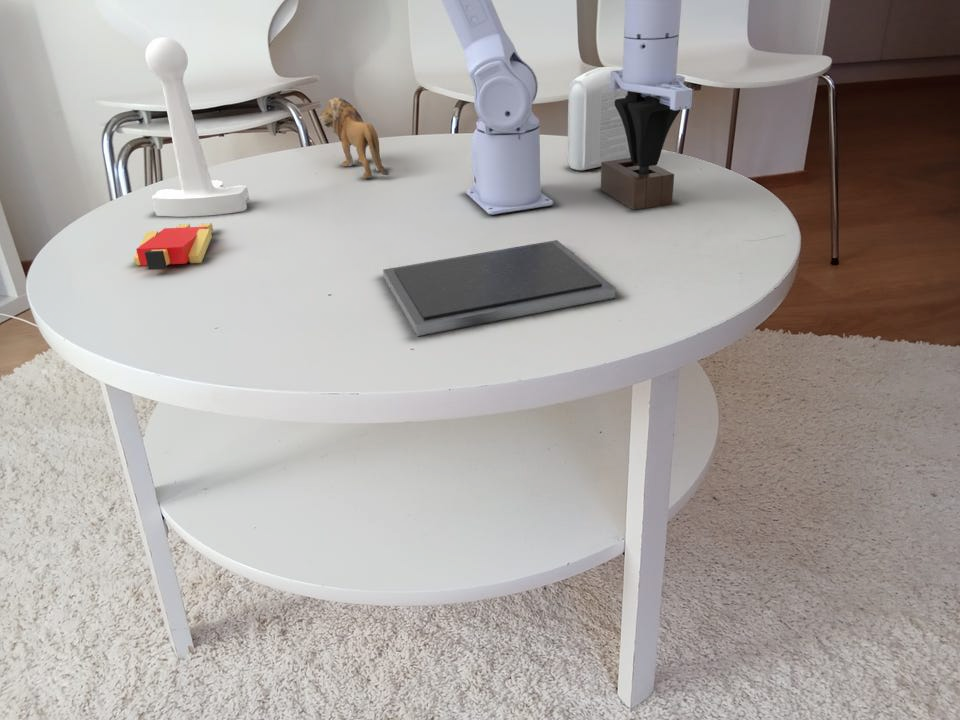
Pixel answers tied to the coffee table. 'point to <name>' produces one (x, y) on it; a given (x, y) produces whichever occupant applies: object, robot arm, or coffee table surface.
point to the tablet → (494, 286)
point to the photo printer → (595, 121)
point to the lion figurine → (353, 134)
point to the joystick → (187, 145)
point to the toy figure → (174, 246)
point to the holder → (636, 184)
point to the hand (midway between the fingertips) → (644, 163)
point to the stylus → (643, 170)
